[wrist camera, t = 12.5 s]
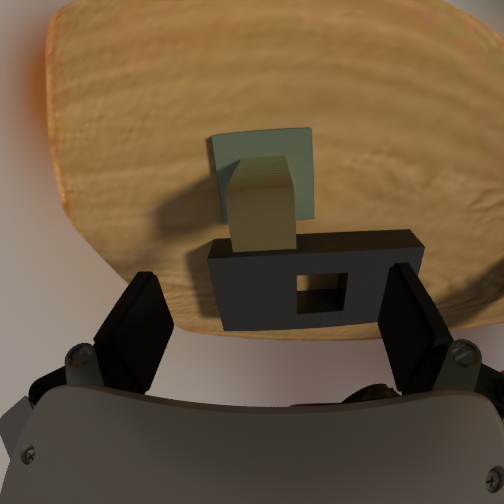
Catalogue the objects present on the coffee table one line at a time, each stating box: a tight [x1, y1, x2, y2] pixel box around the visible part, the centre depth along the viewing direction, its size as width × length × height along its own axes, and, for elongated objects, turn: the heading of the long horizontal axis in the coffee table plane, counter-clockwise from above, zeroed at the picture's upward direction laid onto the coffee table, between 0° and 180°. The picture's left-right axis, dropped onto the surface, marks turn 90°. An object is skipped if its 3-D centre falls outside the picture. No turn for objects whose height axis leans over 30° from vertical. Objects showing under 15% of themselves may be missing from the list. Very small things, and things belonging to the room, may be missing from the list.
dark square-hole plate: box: [207, 229, 425, 331], centre depth 29 cm, size 22×10×4 cm, turn 96°
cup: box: [340, 384, 401, 404], centre depth 42 cm, size 13×20×10 cm, turn 126°
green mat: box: [212, 128, 314, 224], centre depth 25 cm, size 9×9×1 cm
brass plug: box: [224, 155, 296, 252], centre depth 21 cm, size 4×4×10 cm
